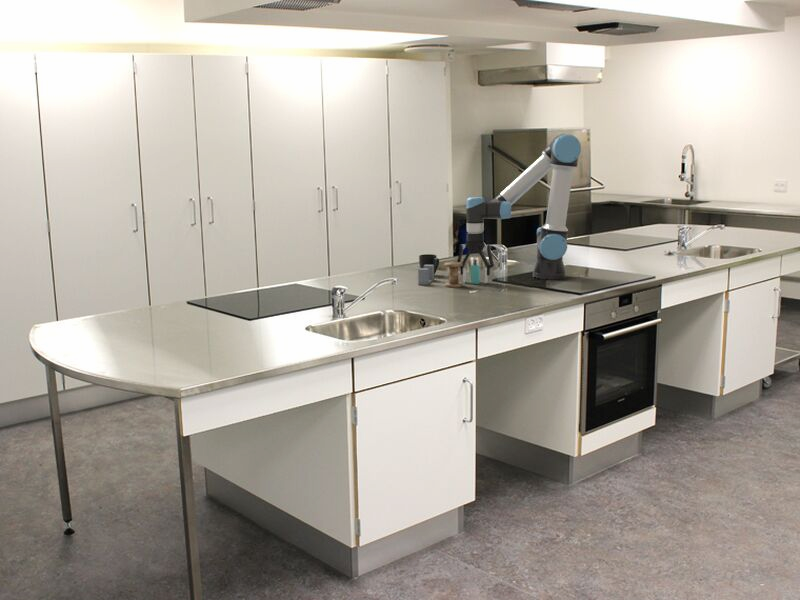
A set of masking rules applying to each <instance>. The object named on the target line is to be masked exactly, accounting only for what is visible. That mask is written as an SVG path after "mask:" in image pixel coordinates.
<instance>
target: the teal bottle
mask: <svg viewBox="0 0 800 600" xmlns="http://www.w3.org/2000/svg"><path fill="white" fill-rule="evenodd" d="M477 263H478V262H477V259H474V260H473V263H472V264H471V265H470V284H473V285H474V284H477V285H479V284H480V283H481V264H477Z"/></svg>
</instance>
